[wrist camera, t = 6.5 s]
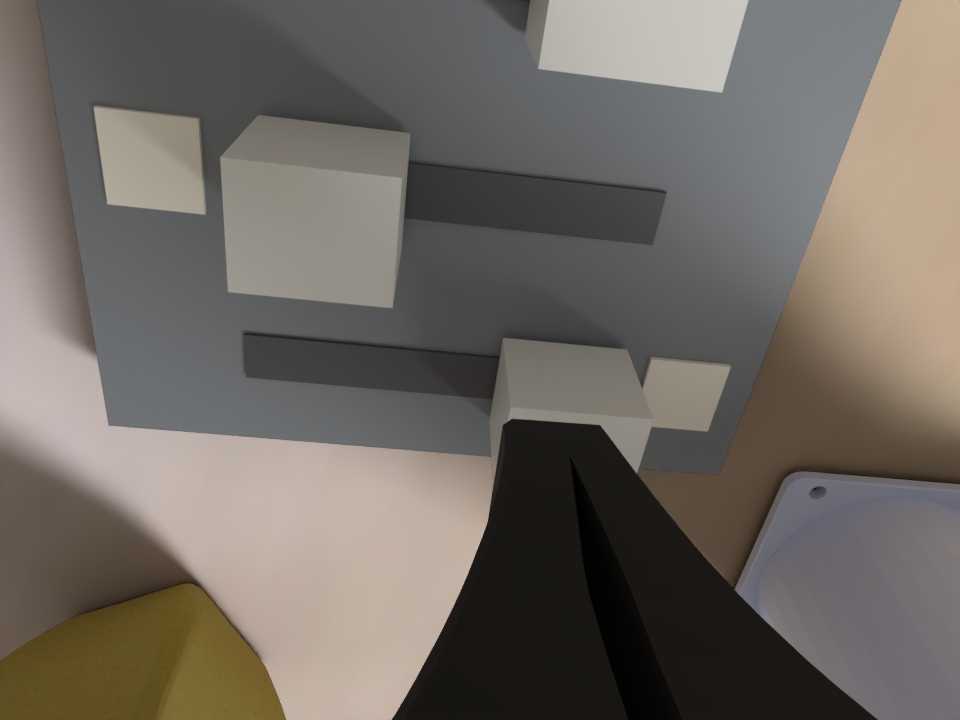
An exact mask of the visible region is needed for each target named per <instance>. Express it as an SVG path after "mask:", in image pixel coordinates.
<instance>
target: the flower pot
mask: <svg viewBox="0 0 960 720" xmlns="http://www.w3.org/2000/svg"><path fill="white" fill-rule="evenodd" d="M0 720H286V718H285V715H284V712H283V709H282V706H281V703H280V700H279V698H278V695H277V693H276V690H275V688H274V685H273V683H272V681H271V678H270V676H269V674H268V671H267V669H266V667H265V665H264V664H263V663H262V661H261V660H260V659H259V658H258V656H257V655H256V654H255V653H254V652H253V650H252V649H251V648H250V647H249V645H248V644H247V643H246V642H245V641H244V640H243V638H242V637H241V636H240V635H239V634H238V632H237V631H236V630H235V629H234V628H233V626H232V625H231V624H230V623H229V622H228V620H227V619H226V618H225V617H224V615H223V614H222V613H221V612H220V610H219V609H218V608H217V607H216V605H215V604H214V603H213V602H212V600H211V599H210V598H209V597H208V596H207V594H206V593H205V592H204V591H203V590H202V589H200V588H199V587H198V586H196V585H194V584H180V585H177V586H173V587H170V588H167V589H163V590H160V591H157V592H154V593H151V594H148V595H144V596H141V597H138V598H135V599H132V600H129V601H126V602H122V603H119V604H115V605H112V606H108V607H105V608H102V609H99V610H95V611H91V612H88V613H84V614H81V615H78V616H75V617H72V618H70V619H68V620H66V621H64V622H63V623H61V624H59V625H57V626H55V627H54V628H52V629H50V630H48V631H47V632H45V633H43V634H41V635H40V636H38V637H36V638H34V639H33V640H31V641H30V642H28V643H26V644H25V645H23V646H22V647H20V648H19V649H17V650H16V651H14V652H13V653H11V654H10V655H8V656H7V657H5V658H4V659H2V660H1V661H0Z"/></svg>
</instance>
